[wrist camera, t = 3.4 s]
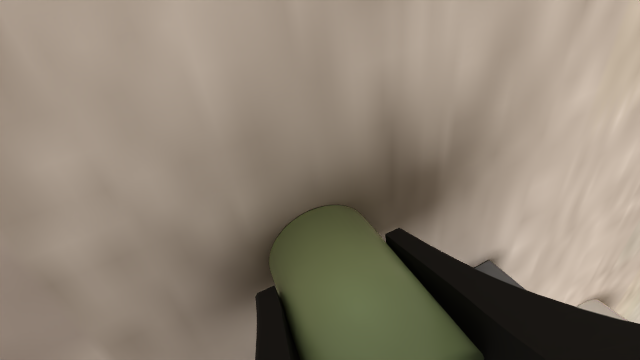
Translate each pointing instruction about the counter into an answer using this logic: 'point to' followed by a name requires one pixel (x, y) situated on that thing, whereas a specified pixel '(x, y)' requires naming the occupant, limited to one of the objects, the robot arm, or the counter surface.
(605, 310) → the honey pot
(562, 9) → the counter surface
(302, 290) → the cucumber chunk
